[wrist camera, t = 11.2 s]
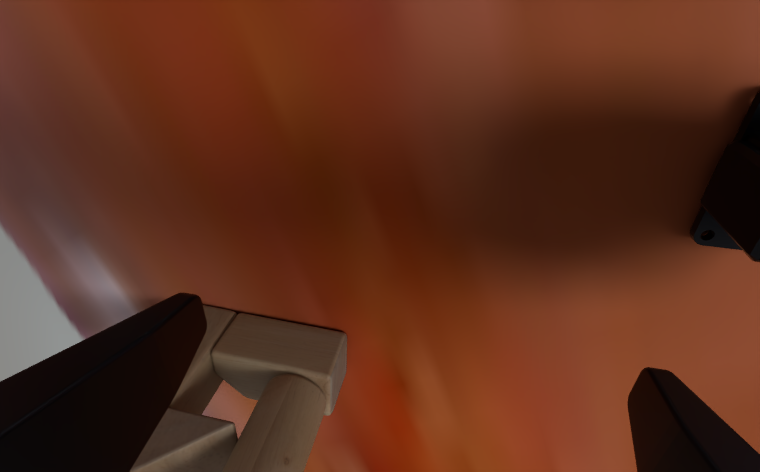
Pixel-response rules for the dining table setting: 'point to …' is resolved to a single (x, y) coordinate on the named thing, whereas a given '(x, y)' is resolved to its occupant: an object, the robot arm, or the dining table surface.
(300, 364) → the beige frame piece
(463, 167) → the dining table surface
